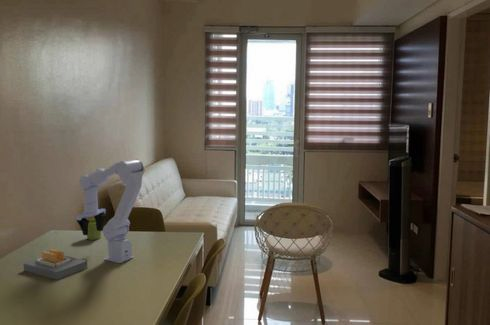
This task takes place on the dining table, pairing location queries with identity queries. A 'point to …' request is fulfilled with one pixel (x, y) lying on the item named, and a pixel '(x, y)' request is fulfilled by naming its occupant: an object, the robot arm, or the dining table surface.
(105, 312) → the dining table surface
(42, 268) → the large grey panel
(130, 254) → the robot arm
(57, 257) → the chute
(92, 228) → the plant pot
